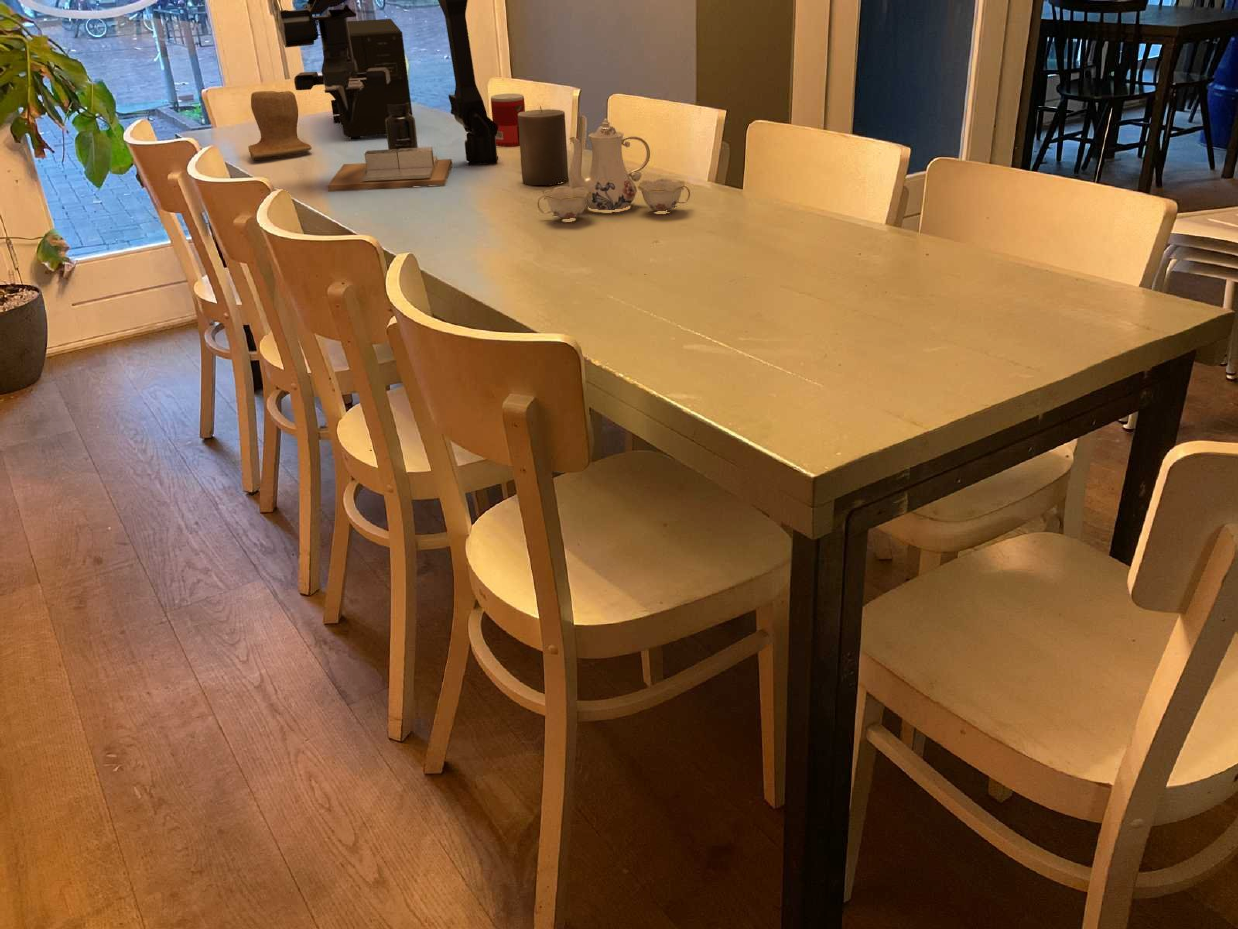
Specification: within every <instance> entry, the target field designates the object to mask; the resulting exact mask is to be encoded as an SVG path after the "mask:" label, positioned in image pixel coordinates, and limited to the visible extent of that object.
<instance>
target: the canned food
mask: <svg viewBox="0 0 1238 929" xmlns="http://www.w3.org/2000/svg"><path fill="white" fill-rule="evenodd" d="M525 105H526V104H525V96H524V95H523V94H521V93H500V94H499V93H498V94H494V95H492V96H490V106H491V116H492V118H491V120H492V121H493V122H494V123H495V124H497V125H498V131H497V135H496V146H497V147H498V146H499V147H518V146H519V147H520V140H519V125H518V113H519V112H524V111H526V106H525Z"/></svg>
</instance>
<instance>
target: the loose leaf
mask: <svg viewBox="0 0 1238 929" xmlns="http://www.w3.org/2000/svg"><path fill="white" fill-rule="evenodd" d="M398 150H399V149H391V150H388V149H375V150H374V149H373V150H372V149H371V150H366V151H365V152H364V162H365V163H366V168H367V170H366V172H365V173H364V175H363V176H362V181H378V180H399V179H419V178H430V176H431V174H432V172H433V167H424V168H403V169H400V167H399V160H398Z"/></svg>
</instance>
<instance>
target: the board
mask: <svg viewBox="0 0 1238 929" xmlns="http://www.w3.org/2000/svg"><path fill="white" fill-rule="evenodd" d="M452 166H453V160H452V158H449V159H448V158H446V159H438V161H437V164H436V166H435V168H434V171H433V172H432V174H431V176H430V178H419V179H399V180H378V181H362V176H363V175H364V173H365V172H366V170H367V168H366V162H364V163H363V162H362V163H358V162H357V163H343V164H342V166H341V167H340V168H339V170H338V171H337V173H336V174H335V175H334V176H333V177H332V179H331V180H330V181H329V183H328V184H327V191H328V192H340V191H341V192H344V191H363V189H367V190H383V189H384V190H385V189H399V188H398V187H408V188H414V187H413V186H428V187H430V186H429V185H445V186H446V183H445V182H447V180H448V178H447V177H449V174H450V172H451V169H450V168H452ZM449 171H450V172H449ZM446 179H447V180H446Z"/></svg>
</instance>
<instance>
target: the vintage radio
mask: <svg viewBox="0 0 1238 929" xmlns="http://www.w3.org/2000/svg"><path fill="white" fill-rule="evenodd" d="M347 23H348V29H349V35H350V41H351V46H352V53H353V59H355V61H356V63H357V67H358V73H366V71H367V70H368V69H369V68H383V67H386V68H387V69H388V71H389V75H390V82H389V83H388V84H387V85H378V86H371V85H370V84H369V83H368V82H362V84H363V85H364V87H363V88H362V89H361V90H360V91H358V94H357V97H356V101H355V107H354V113H353V119H352V122H347V120H346V118H345V116H344V114H343V112H342V110H341V108H340V107H339V105H338V103H337V102H336V100H335V99H331V100H330V104H331V111H332V119H333V124H340V125H341V126H342V131H343V132H342V133H343V136H345V137H347V138H349V139H350V140H354V141H355V140H361V139H362V138H361V137H375V136H387V134H386V125H385V119H386V117H387V116H388V115H389V112H388V103H391V102H408V103H409V109H410V111H409V114H411V115H412V116H413V117H414V115H413V108H412V100H411V94H410V93H411V92H410V85H409V76H408V69H407V68H408V67H407V60H406V53H405V52H406V51H405V45H404V43H405V42H404V37H403V32H402V30H401V29H400V28H399V27H398V26H397V24H396V23H395V21H393V19H392V18H385V19H384V18H383V19H382V18H381V19H380V18H379V19H368V20H367V19H364V20H347ZM322 49H323V46H322ZM347 87H348V85H346V86H343V88H344V92H345V97H346V101H347V95H346V91H345V89H346V88H347Z"/></svg>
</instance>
